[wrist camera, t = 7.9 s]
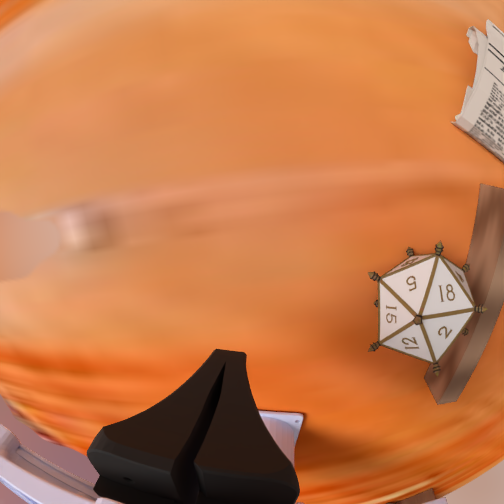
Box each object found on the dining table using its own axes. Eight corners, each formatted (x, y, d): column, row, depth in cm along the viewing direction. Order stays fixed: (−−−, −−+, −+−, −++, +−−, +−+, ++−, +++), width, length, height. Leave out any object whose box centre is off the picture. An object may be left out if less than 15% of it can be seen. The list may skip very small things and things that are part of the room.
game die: (402, 248, 23) (502, 238, 14) (403, 341, 23) (499, 354, 14) (329, 250, 20) (459, 234, 11) (332, 367, 19) (450, 405, 10)
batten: (441, 376, 23) (456, 401, 19) (423, 377, 23) (437, 404, 19) (498, 189, 17) (528, 196, 13) (480, 183, 17) (510, 190, 13)
